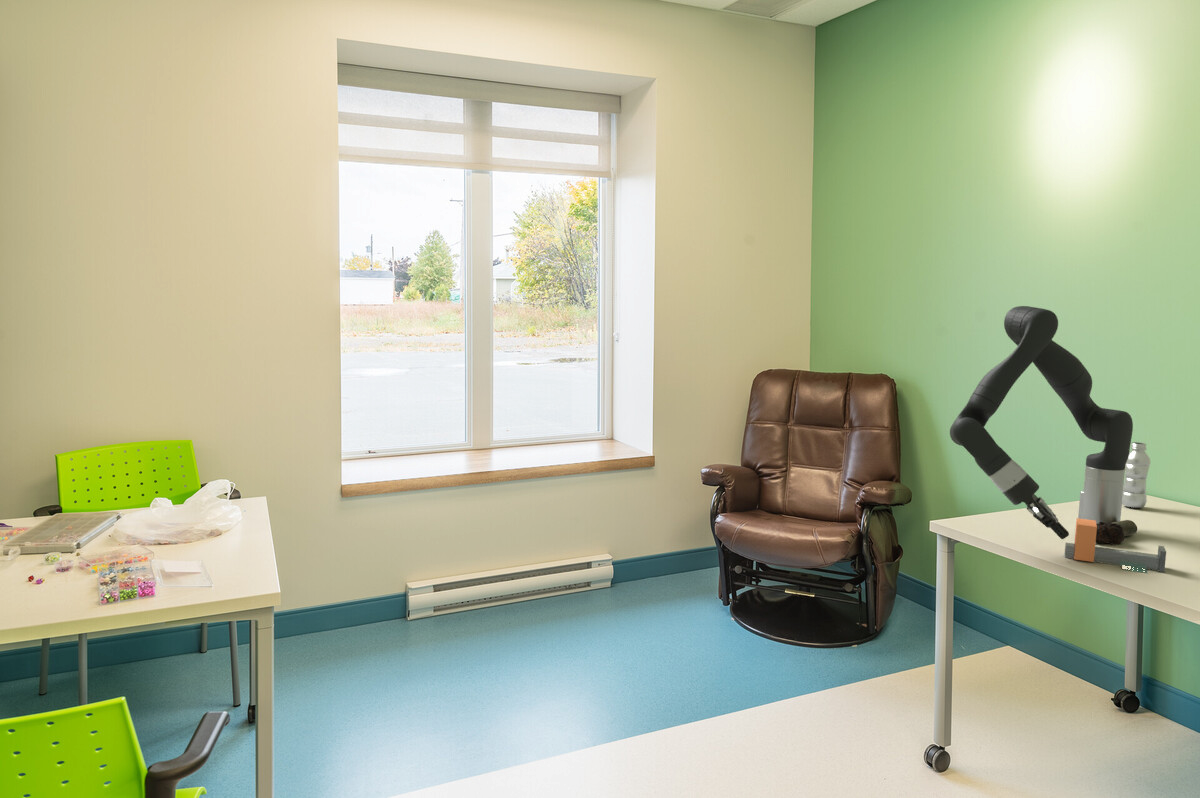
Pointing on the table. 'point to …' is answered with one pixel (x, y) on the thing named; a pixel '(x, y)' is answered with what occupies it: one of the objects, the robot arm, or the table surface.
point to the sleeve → (1085, 539)
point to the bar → (1125, 557)
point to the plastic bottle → (1136, 476)
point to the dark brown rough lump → (1115, 531)
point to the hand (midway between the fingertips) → (1065, 536)
